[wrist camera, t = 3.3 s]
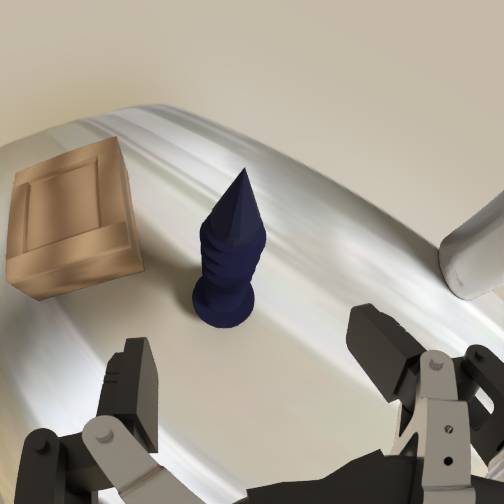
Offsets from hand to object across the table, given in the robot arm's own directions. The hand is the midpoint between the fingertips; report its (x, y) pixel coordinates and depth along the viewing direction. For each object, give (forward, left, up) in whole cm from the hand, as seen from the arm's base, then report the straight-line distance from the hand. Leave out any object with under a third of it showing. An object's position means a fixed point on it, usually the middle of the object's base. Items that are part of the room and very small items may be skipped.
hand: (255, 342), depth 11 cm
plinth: (+11, -16, -14) cm, 24 cm away
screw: (-1, -5, -14) cm, 15 cm away
